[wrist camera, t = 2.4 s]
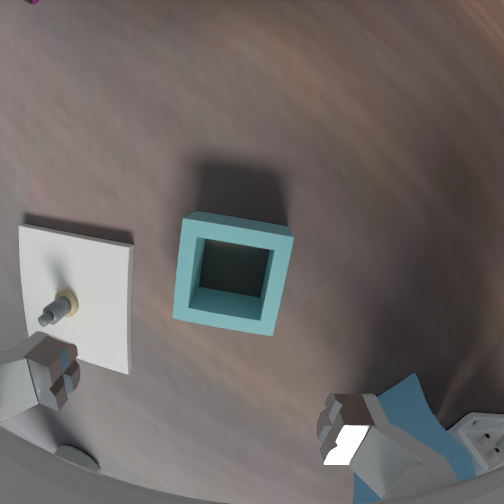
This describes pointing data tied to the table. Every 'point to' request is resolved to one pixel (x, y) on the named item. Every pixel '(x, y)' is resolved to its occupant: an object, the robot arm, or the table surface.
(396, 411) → the vase
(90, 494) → the robot arm
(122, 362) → the post stand
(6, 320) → the table surface
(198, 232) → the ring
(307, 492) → the table surface
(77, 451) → the water bottle
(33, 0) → the candy bar box
